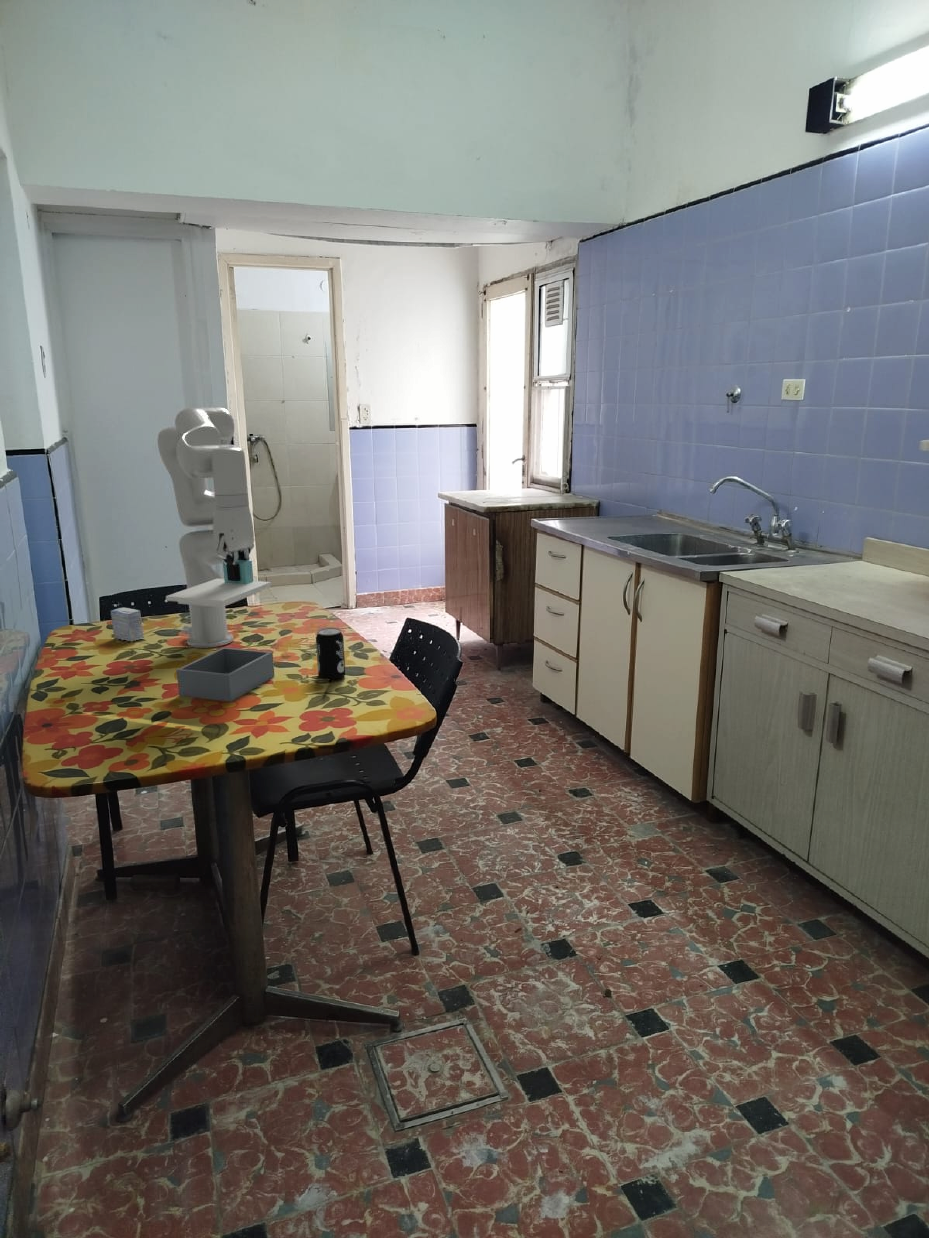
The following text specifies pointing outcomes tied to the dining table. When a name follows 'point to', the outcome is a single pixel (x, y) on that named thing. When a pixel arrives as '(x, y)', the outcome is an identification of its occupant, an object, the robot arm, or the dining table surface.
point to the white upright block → (127, 624)
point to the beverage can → (330, 654)
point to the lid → (222, 589)
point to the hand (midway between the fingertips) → (238, 578)
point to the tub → (225, 674)
